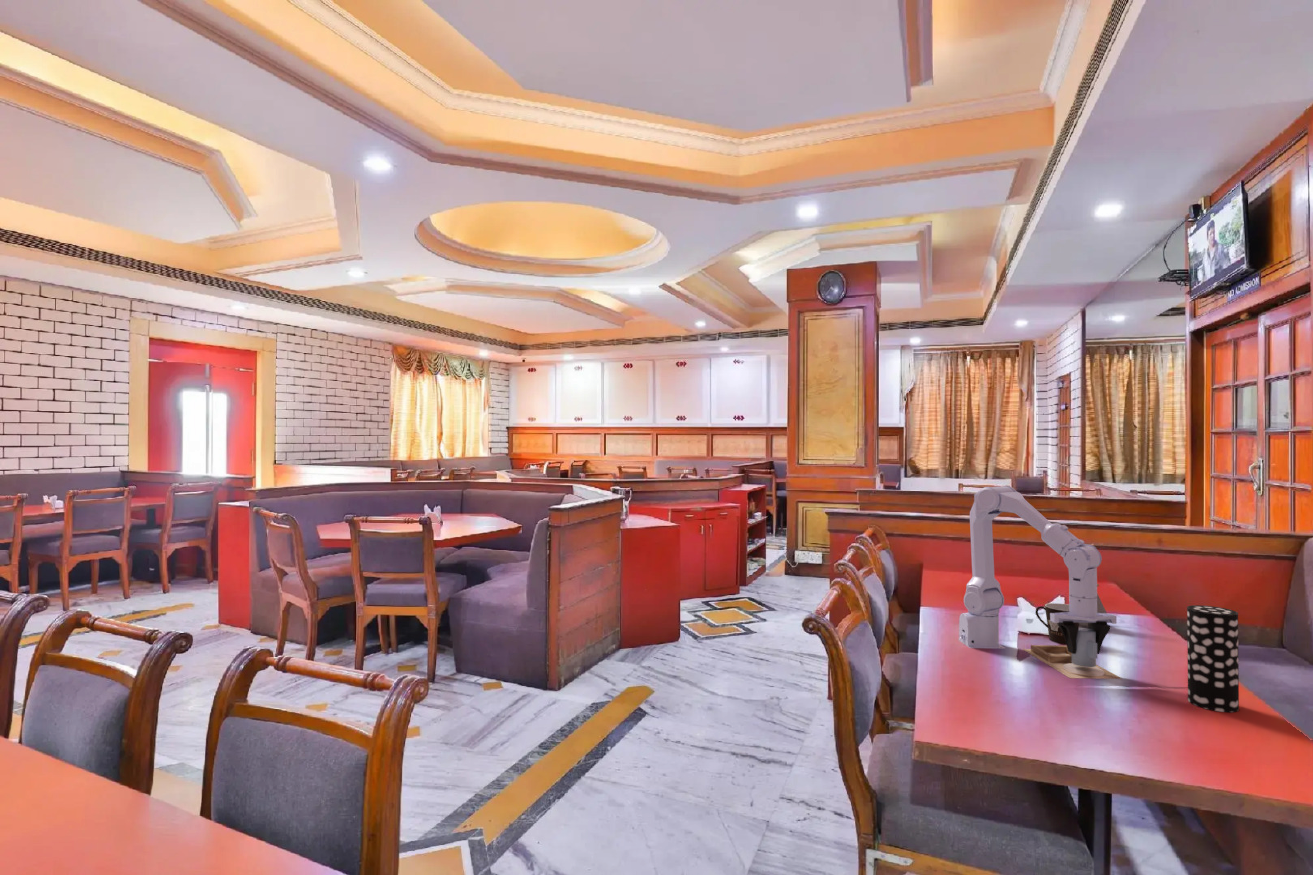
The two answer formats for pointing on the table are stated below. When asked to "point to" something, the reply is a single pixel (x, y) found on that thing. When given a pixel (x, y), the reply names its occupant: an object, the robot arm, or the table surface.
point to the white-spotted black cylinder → (1213, 658)
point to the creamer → (1085, 648)
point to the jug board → (1067, 662)
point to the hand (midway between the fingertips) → (1083, 652)
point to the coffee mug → (1053, 628)
